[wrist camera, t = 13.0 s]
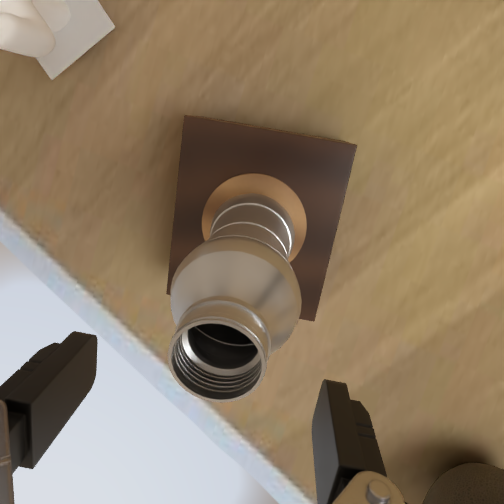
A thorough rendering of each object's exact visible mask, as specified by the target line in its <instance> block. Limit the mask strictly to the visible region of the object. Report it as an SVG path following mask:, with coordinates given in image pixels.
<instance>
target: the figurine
mask: <svg viewBox="0 0 504 504" xmlns="http://www.w3.org/2000/svg"><path fill="white" fill-rule="evenodd" d="M114 28H115V26H114V24H113V23H112V21H111V20H110V18H109V17H108V15H107V14H106V12H105V11H104V9H103V7H102V6H101V4H100V3H99V1H98V0H0V49H2V50H6V51H9V52H13V53H17V54H21V55H25V56H30V57H35V58H36V59H37V60H38V62H39V63H40V65H41V66H42V67H43V69H44V70H45V72H46V73H47V74H48V76H49V77H50V79H51V80H53V79H54V78H55V77H56V76H58V75H59V74H60V73H61V72H63V71H64V70H65V69H66V68H67V67H69V66H70V65H71V64H72V63H73V62H75V61H76V60H77V59H78V58H79V57H81V56H82V55H83V54H84V53H85V52H87V51H88V50H89V49H90V48H91V47H93V46H94V45H95V44H96V43H97V42H99V41H100V40H101V39H102V38H103V37H105V36H106V35H107V34H108V33H109V32H111V31H112V30H113V29H114Z"/></svg>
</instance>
